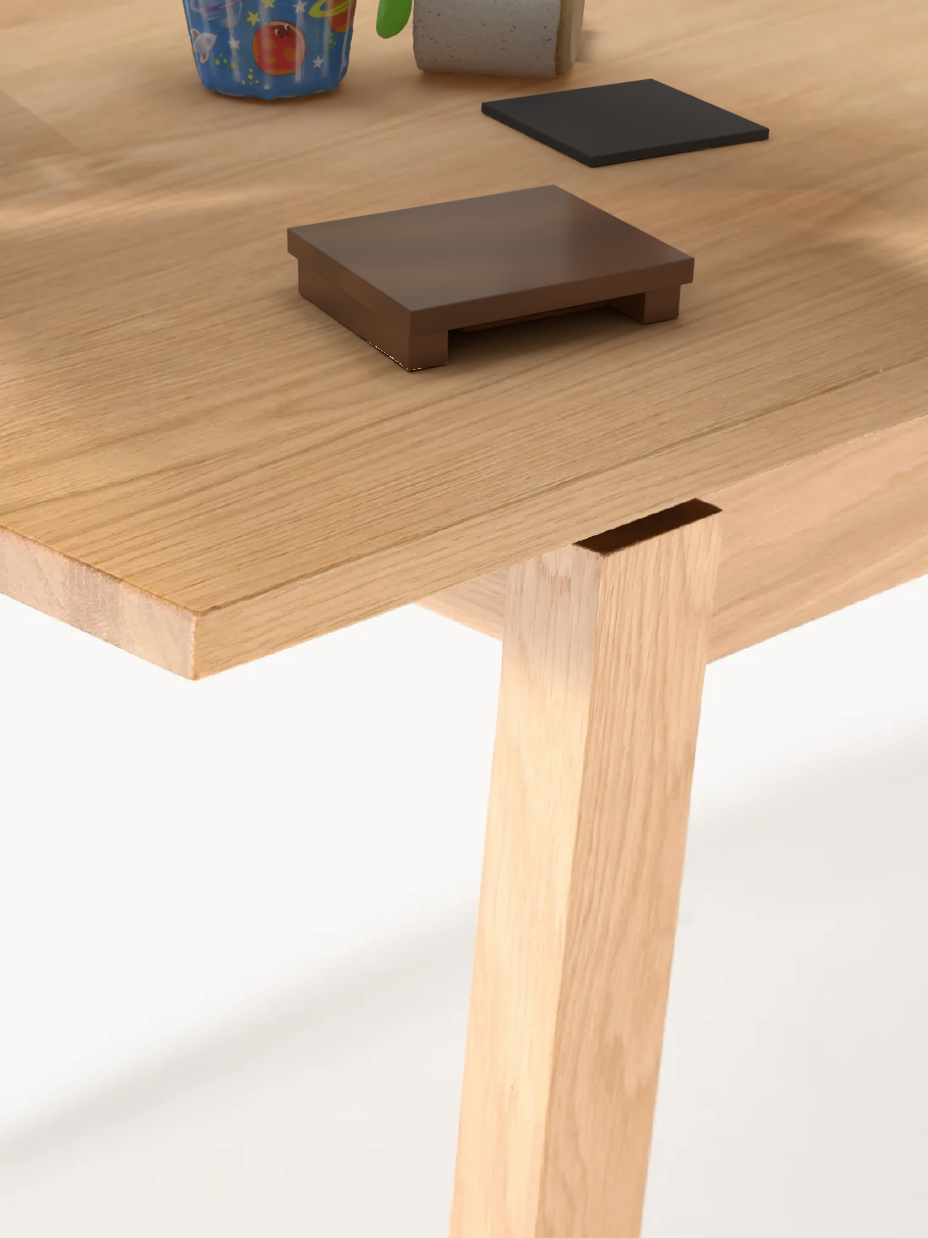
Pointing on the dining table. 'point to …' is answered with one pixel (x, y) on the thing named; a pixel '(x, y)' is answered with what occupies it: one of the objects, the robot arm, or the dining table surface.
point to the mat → (623, 121)
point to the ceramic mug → (497, 36)
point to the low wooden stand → (480, 267)
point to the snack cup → (279, 43)
